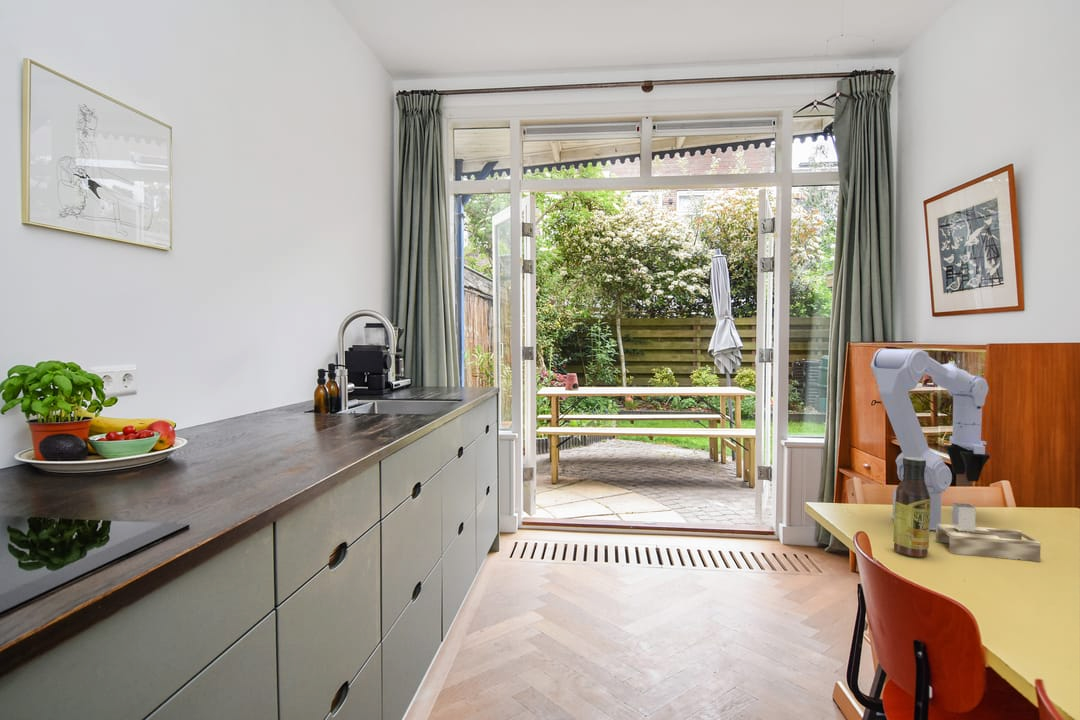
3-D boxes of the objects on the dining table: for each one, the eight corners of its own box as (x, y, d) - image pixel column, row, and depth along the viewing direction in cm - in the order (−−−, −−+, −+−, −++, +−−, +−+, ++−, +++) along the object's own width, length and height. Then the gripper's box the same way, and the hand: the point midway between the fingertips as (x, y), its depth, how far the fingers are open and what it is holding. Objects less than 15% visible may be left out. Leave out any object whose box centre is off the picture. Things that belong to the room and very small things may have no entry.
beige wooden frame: (951, 553, 119) (951, 535, 119) (935, 540, 127) (936, 523, 127) (1040, 561, 115) (1040, 542, 115) (1018, 547, 123) (1019, 530, 122)
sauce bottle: (917, 560, 115) (920, 462, 114) (886, 550, 120) (888, 457, 120) (935, 555, 118) (938, 459, 117) (904, 545, 123) (907, 454, 123)
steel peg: (955, 551, 120) (956, 507, 120) (946, 544, 125) (948, 501, 124) (979, 553, 119) (981, 509, 119) (970, 546, 123) (971, 503, 123)
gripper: (1000, 428, 134) (999, 485, 134) (972, 419, 148) (970, 471, 148) (965, 427, 135) (964, 483, 136) (940, 418, 149) (939, 470, 150)
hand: (965, 477), depth 142 cm, fingers open, 7 cm apart
